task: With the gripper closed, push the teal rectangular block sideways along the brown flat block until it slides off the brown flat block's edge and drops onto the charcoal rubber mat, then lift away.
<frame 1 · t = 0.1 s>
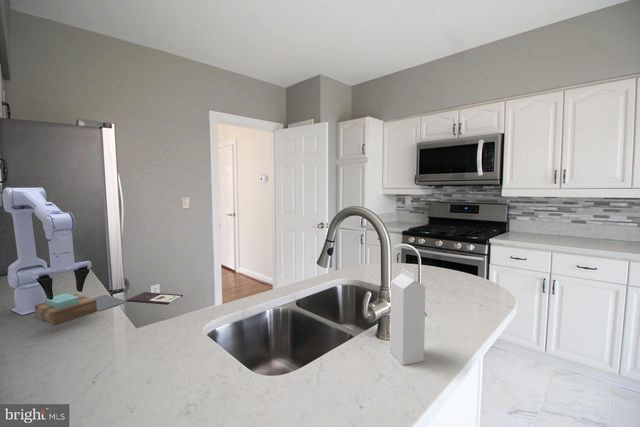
hand: (65, 294, 95), 10 cm above the worktop, fingers open, 7 cm apart
brown flat block: (67, 313, 105), on the worktop
milk: (406, 357, 76), on the worktop
teal rectangular block: (62, 303, 104), point 4 cm above the worktop, touching brown flat block
mat: (102, 302, 115), on the worktop
chocolate bar: (155, 300, 119), on the worktop
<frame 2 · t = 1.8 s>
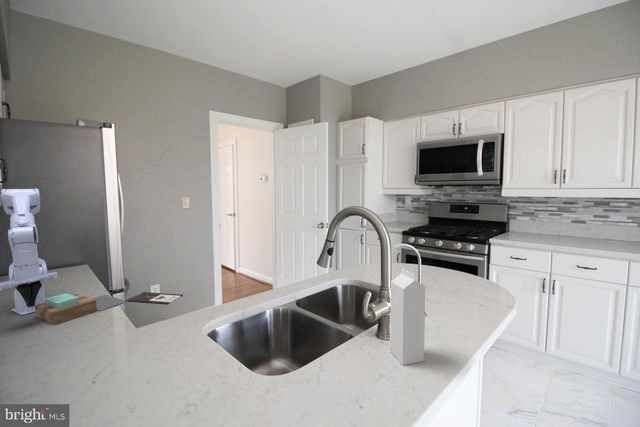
hand: (30, 306, 97), 6 cm above the worktop, fingers closed
nothing on the worktop moved.
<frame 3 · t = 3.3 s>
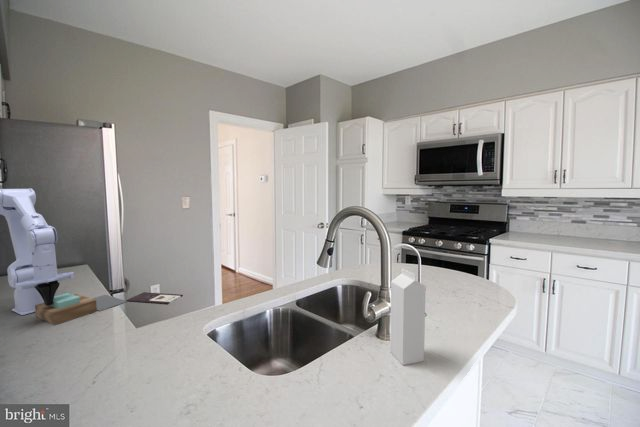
hand: (48, 304, 101), 5 cm above the worktop, fingers closed
teal rectangular block: (63, 303, 104), point 4 cm above the worktop, touching brown flat block, gripper
everything else where it was.
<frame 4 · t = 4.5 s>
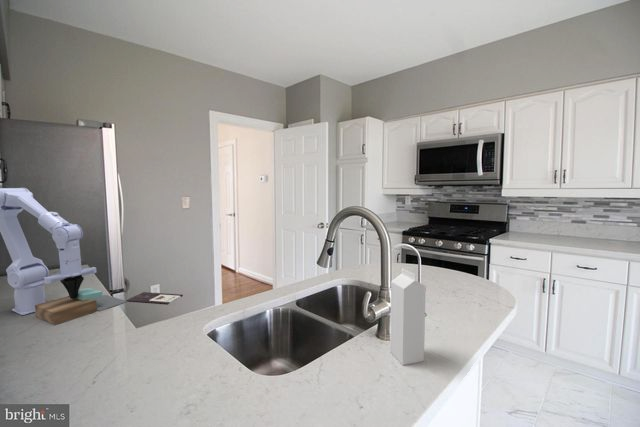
hand: (73, 297, 107), 5 cm above the worktop, fingers closed
teal rectangular block: (86, 296, 110), point 4 cm above the worktop, tilted 6°, touching brown flat block, gripper
everything else where it was.
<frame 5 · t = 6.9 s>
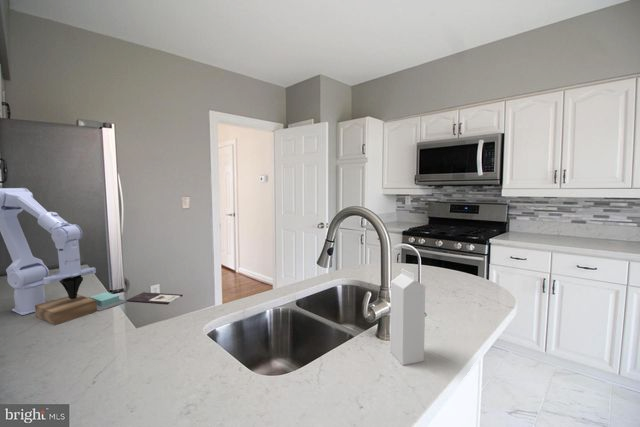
hand: (72, 298, 107), 5 cm above the worktop, fingers closed
teal rectangular block: (103, 296, 115), point 2 cm above the worktop, tilted 180°, touching mat
everything else where it was.
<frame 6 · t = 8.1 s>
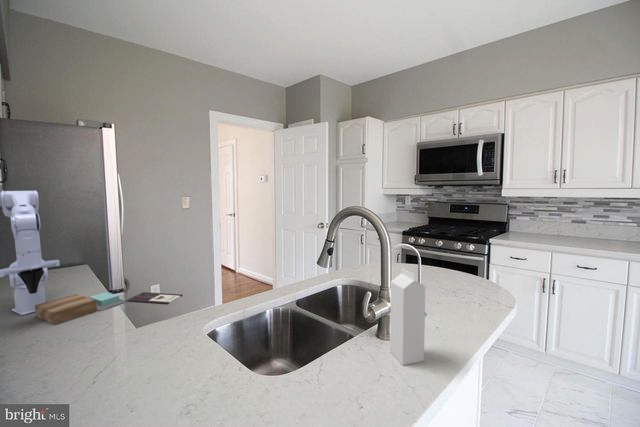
hand: (32, 292, 98), 10 cm above the worktop, fingers closed
nothing on the worktop moved.
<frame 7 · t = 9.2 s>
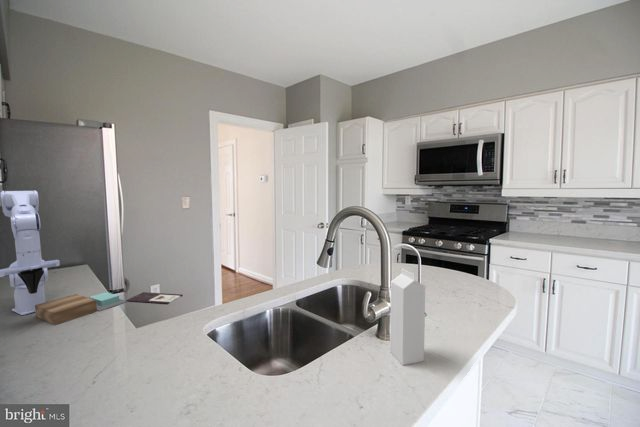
hand: (32, 292, 98), 10 cm above the worktop, fingers closed
nothing on the worktop moved.
at the end: teal rectangular block point 2.3 cm above the worktop; teal rectangular block inside the target area on the mat (0.7 cm from its centre), point 2.3 cm above the mat's base; teal rectangular block touching mat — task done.
